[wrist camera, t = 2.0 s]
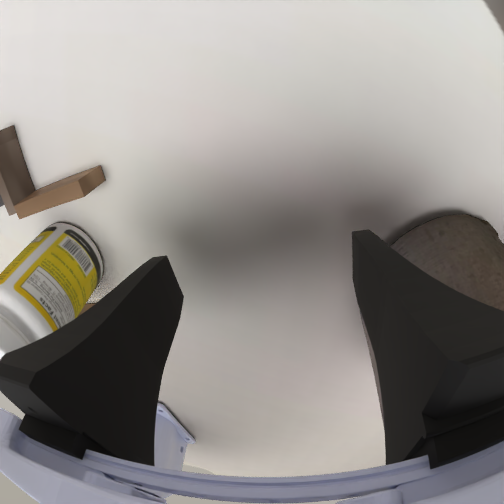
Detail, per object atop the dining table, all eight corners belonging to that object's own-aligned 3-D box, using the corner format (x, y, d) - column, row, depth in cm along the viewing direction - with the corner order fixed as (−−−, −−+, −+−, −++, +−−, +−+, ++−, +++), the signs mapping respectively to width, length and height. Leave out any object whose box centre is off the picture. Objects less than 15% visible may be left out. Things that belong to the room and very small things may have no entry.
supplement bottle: (48, 273, 17) (-19, 365, 10) (40, 212, 14) (-54, 304, 7) (107, 295, 17) (46, 406, 10) (105, 232, 15) (14, 351, 8)
